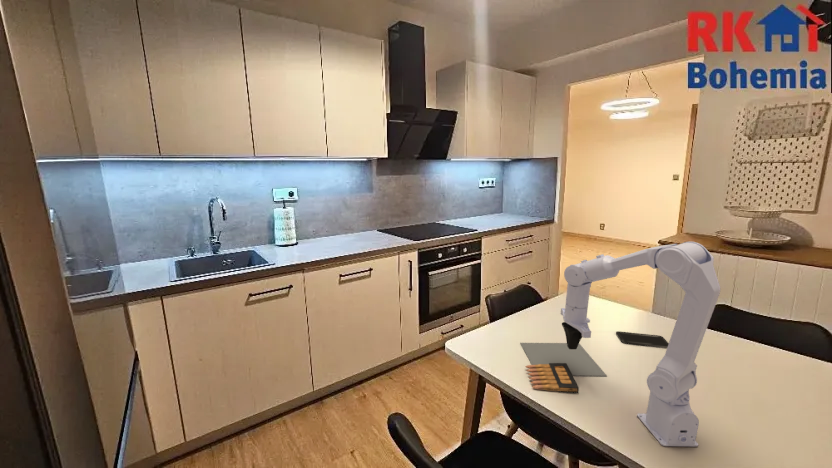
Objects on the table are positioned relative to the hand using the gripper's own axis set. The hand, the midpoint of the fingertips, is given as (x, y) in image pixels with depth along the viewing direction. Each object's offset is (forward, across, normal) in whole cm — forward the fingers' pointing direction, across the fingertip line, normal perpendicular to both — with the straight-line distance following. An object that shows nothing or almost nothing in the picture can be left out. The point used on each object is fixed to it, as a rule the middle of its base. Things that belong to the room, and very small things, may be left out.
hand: (571, 348), depth 100 cm
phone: (+8, +18, -34) cm, 39 cm away
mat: (+8, +7, 0) cm, 11 cm away
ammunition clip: (+7, -4, +1) cm, 8 cm away
